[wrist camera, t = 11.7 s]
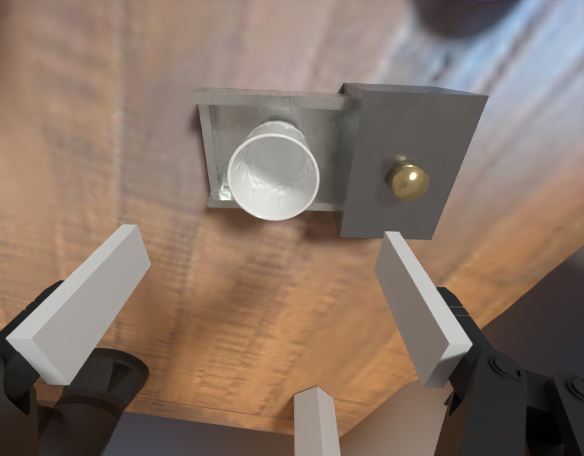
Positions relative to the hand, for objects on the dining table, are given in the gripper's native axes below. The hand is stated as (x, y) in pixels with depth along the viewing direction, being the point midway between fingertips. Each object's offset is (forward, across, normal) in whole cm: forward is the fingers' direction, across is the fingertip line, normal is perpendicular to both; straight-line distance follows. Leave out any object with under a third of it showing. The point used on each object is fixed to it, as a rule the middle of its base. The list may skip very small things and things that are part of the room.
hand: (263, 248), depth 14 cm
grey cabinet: (+20, -1, 0) cm, 20 cm away
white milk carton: (+21, +10, -61) cm, 65 cm away
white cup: (+20, 0, 0) cm, 20 cm away
